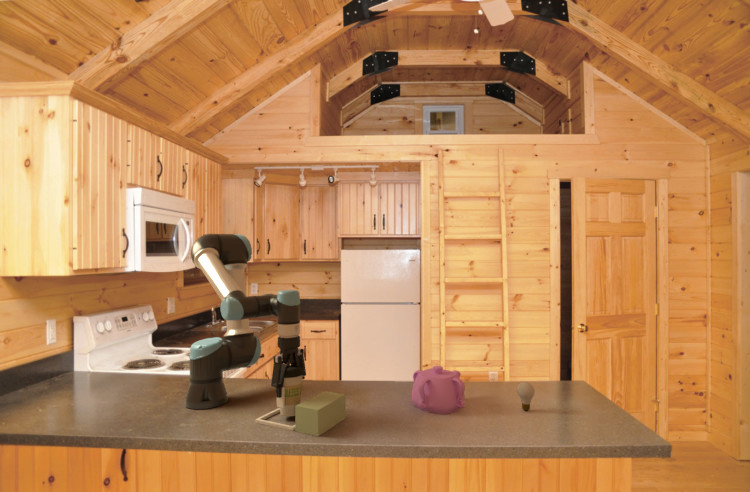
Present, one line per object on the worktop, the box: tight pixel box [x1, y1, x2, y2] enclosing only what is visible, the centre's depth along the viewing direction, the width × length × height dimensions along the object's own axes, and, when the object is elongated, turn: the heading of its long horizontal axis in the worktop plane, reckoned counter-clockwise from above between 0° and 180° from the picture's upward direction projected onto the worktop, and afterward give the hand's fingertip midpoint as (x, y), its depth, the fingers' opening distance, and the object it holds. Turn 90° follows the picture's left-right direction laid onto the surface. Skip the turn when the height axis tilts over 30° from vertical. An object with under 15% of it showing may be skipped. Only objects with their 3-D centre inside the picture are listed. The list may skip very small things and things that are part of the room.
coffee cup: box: [279, 364, 304, 417], centre depth 151 cm, size 10×10×15 cm
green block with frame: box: [254, 390, 347, 437], centre depth 149 cm, size 25×16×8 cm, turn 63°
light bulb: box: [516, 381, 536, 412], centre depth 156 cm, size 6×6×10 cm
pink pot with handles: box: [411, 365, 466, 415], centre depth 163 cm, size 19×21×14 cm
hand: (289, 402), depth 151 cm, fingers closed on coffee cup, 9 cm apart
